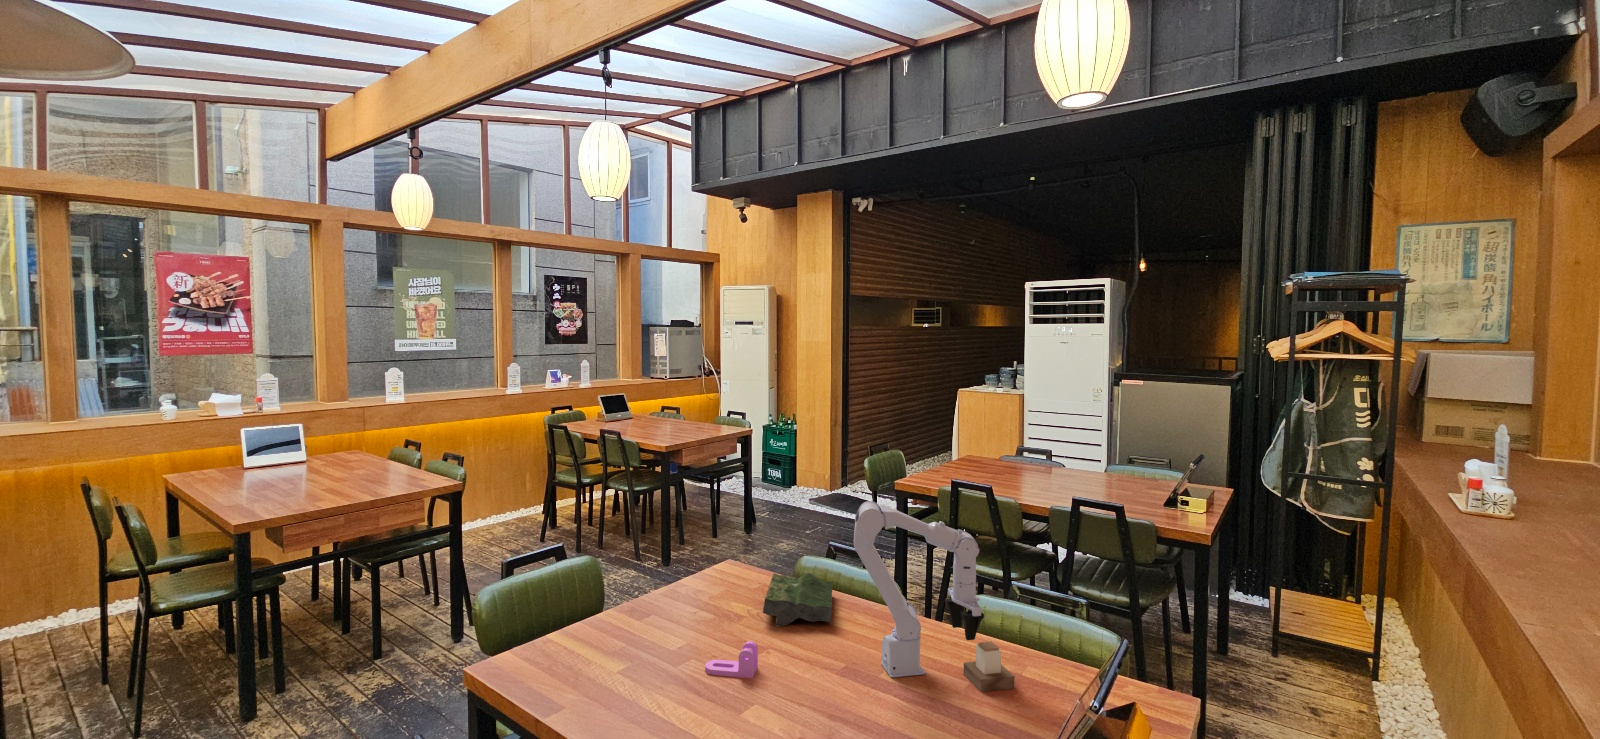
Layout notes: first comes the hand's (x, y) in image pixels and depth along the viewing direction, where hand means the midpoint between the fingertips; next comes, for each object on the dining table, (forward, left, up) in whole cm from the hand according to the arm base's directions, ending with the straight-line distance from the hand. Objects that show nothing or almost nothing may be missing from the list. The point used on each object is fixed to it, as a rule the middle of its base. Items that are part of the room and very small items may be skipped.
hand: (963, 633), depth 168 cm
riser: (+4, -6, -10) cm, 12 cm away
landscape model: (-32, +48, -10) cm, 58 cm away
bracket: (-59, +12, -10) cm, 61 cm away
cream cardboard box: (+4, -6, -7) cm, 10 cm away
